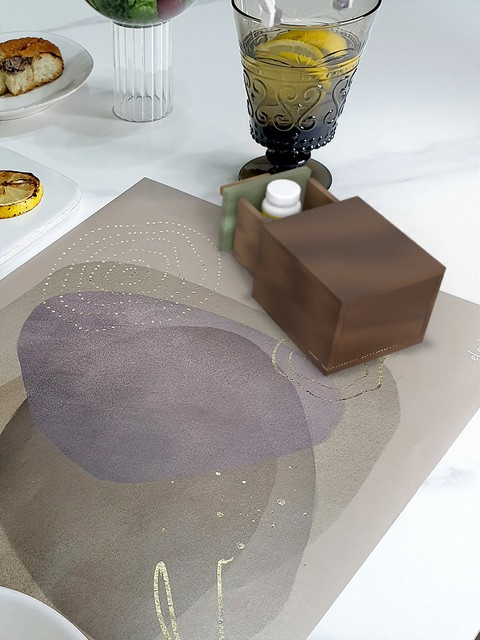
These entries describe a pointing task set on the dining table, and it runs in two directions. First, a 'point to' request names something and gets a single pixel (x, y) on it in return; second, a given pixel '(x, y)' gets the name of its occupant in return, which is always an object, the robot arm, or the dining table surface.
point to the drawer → (245, 211)
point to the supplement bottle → (281, 199)
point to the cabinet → (345, 283)
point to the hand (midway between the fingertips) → (306, 16)
